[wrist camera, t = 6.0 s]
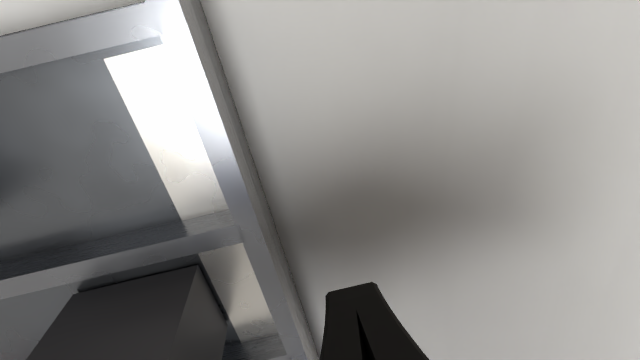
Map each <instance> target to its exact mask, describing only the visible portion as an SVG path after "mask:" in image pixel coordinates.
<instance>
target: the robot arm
mask: <svg viewBox="0 0 640 360" xmlns="http://www.w3.org/2000/svg"><path fill="white" fill-rule="evenodd" d="M320 360H429V359H428V358H427V356H426V355H425V354H424V353H423V352H422V350H421V349H420V348H419V346H418V345H417V344H416V343H415V341H414V340H413V339H412V338H411V336H410V335H409V334H408V332H407V331H406V330H405V328H404V327H403V326H402V324H401V323H400V322H399V320H398V319H397V317H396V316H395V314H394V313H393V311H392V310H391V308H390V307H389V305H388V304H387V302H386V301H385V299H384V297H383V296H382V294H381V292H380V290H379V288H378V286H377V284H375V283H373V282H370V283H365V284H361V285H357V286H353V287H348V288H344V289H340V290H335V291H331V292H328V294H327V295H326V315H325V327H324V335H323V343H322V349H321V355H320Z"/></svg>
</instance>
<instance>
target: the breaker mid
mask: <svg viewBox="0 0 640 360" xmlns="http://www.w3.org/2000/svg"><path fill="white" fill-rule="evenodd" d="M227 326H228V324H227V322H226V320H225V318H224V316H223V314H222V312H221V310H220V308H219V306H218V304H217V302H216V300H215V298H214V296H213V294H212V292H211V290H210V288H209V286H208V284H207V282H206V280H205V278H204V276H203V274H202V272H201V270H200V268H199V266H198V265H195V266H191V267H187V268H182V269H178V270H174V271H170V272H165V273H161V274H157V275H153V276H148V277H144V278H140V279H136V280H131V281H127V282H123V283H119V284H114V285H110V286H106V287H101V288H97V289H93V290H89V291H84V292H80V293H76V294H73V295H72V296H71V298H70V299H69V301H68V302H67V303H66V305H65V306H64V308H63V309H62V310H61V312H60V313H59V315H58V316H57V317H56V319H55V320H54V322H53V323H52V324H51V326H50V327H49V328H48V330H47V331H46V333H45V334H44V335H43V337H42V338H41V340H40V341H39V342H38V344H37V345H36V347H35V348H34V349H33V351H32V352H31V354H30V355H29V356H28V358H27V359H26V360H222V357H223V351H224V344H225V338H226V332H227Z"/></svg>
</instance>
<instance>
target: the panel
mask: <svg viewBox="0 0 640 360" xmlns="http://www.w3.org/2000/svg"><path fill="white" fill-rule="evenodd" d="M195 265H198V266H199V268H200V270H201V272H202V274H203V276H204V278H205V280H206V282H207V284H208V286H209V288H210V290H211V292H212V294H213V296H214V298H215V300H216V302H217V304H218V306H219V308H220V310H221V312H222V314H223V316H224V318H225V320H226V322H227V324H228V326H227V332H226V338H225V344H224V351H223V357H222V360H319V357H318V354H317V351H316V348H315V345H314V342H313V339H312V336H311V333H310V330H309V327H308V324H307V321H306V318H305V315H304V312H303V309H302V306H301V303H300V300H299V297H298V294H297V291H296V288H295V285H294V282H293V279H292V276H291V273H290V270H289V267H288V264H287V261H286V258H285V255H284V252H283V249H282V246H281V243H280V240H279V237H278V234H277V231H276V228H275V225H274V222H273V219H272V216H271V213H270V210H269V207H268V204H267V201H266V198H265V195H264V192H263V189H262V186H261V183H260V180H259V177H258V174H257V171H256V168H255V165H254V162H253V159H252V156H251V153H250V150H249V147H248V144H247V141H246V138H245V135H244V132H243V129H242V126H241V123H240V120H239V117H238V114H237V111H236V108H235V105H234V102H233V99H232V96H231V93H230V90H229V87H228V84H227V81H226V78H225V75H224V72H223V69H222V66H221V63H220V60H219V57H218V54H217V51H216V48H215V45H214V42H213V39H212V36H211V33H210V30H209V27H208V24H207V21H206V18H205V15H204V12H203V9H202V6H201V3H200V0H145V2H141V3H136V4H132V5H128V6H124V7H120V8H115V9H111V10H107V11H103V12H99V13H95V14H90V15H86V16H82V17H78V18H74V19H69V20H65V21H61V22H57V23H53V24H48V25H44V26H40V27H36V28H32V29H28V30H23V31H19V32H15V33H11V34H7V35H2V36H0V360H26V359H27V358H28V356H29V355H30V354H31V352H32V351H33V349H34V348H35V347H36V345H37V344H38V342H39V341H40V340H41V338H42V337H43V335H44V334H45V333H46V331H47V330H48V328H49V327H50V326H51V324H52V323H53V322H54V320H55V319H56V317H57V316H58V315H59V313H60V312H61V310H62V309H63V308H64V306H65V305H66V303H67V302H68V301H69V299H70V298H71V296H72V295H73V294H76V293H80V292H84V291H89V290H93V289H97V288H101V287H106V286H110V285H114V284H119V283H123V282H127V281H131V280H136V279H140V278H144V277H148V276H153V275H157V274H161V273H165V272H170V271H174V270H178V269H182V268H187V267H191V266H195Z"/></svg>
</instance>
